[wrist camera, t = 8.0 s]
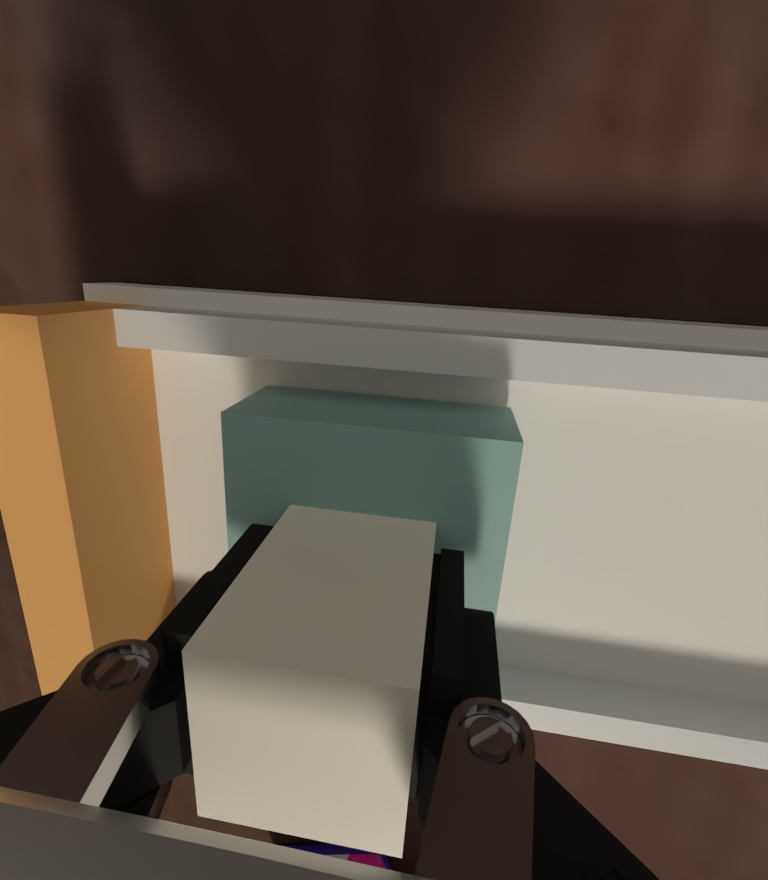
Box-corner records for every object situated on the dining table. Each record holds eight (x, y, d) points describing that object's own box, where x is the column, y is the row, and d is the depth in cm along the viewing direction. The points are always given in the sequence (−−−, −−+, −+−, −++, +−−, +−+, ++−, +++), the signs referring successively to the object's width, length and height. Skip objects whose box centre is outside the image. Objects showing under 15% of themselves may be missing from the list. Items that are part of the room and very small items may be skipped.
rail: (1366, 367, 12) (2058, 439, 7) (1084, 758, 16) (1375, 984, 11) (115, 282, 16) (-50, 286, 11) (154, 612, 20) (49, 728, 15)
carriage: (510, 407, 14) (572, 573, 6) (476, 641, 16) (488, 960, 9) (267, 385, 14) (55, 506, 7) (272, 611, 17) (123, 876, 9)
